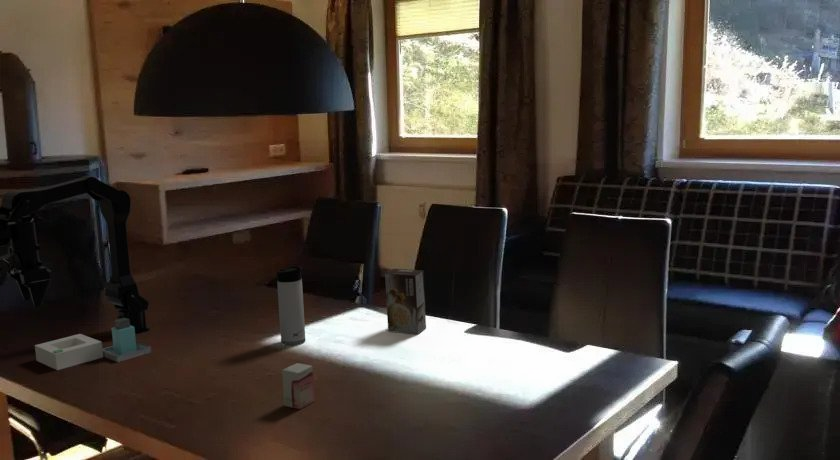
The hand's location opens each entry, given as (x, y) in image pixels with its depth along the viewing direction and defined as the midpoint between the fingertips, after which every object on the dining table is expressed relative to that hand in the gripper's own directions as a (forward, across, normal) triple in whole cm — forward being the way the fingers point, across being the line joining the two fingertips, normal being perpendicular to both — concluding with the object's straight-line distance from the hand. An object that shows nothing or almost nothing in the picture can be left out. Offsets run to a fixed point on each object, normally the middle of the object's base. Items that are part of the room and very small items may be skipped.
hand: (32, 303), depth 192 cm
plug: (+14, +13, +17) cm, 26 cm away
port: (+14, +7, +5) cm, 17 cm away
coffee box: (+15, +50, +79) cm, 95 cm away
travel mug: (+15, +37, +52) cm, 65 cm away
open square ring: (+14, +13, +17) cm, 26 cm away
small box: (+15, +73, +31) cm, 80 cm away
